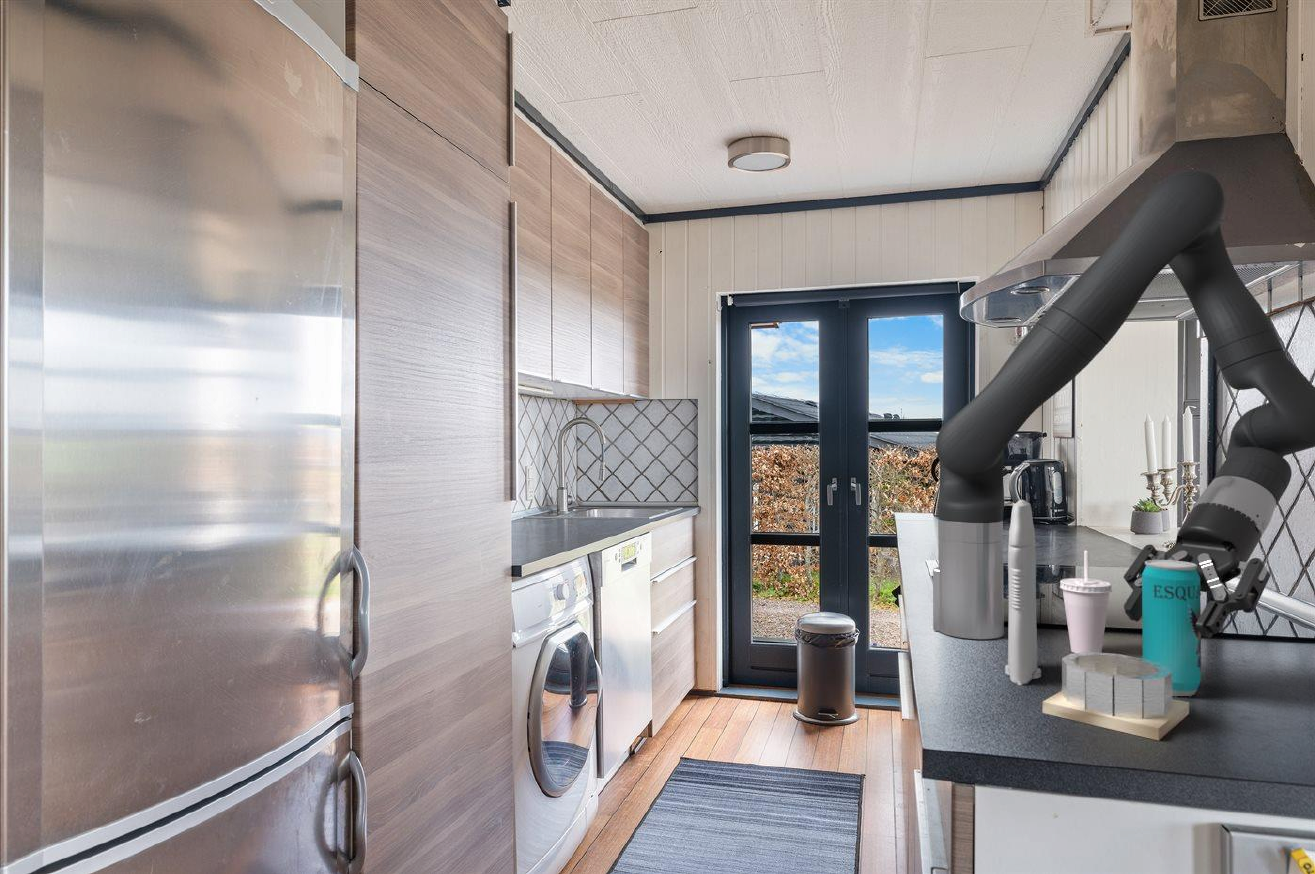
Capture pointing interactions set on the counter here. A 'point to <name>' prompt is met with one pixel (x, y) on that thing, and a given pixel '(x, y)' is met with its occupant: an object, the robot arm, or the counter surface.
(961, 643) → the counter surface
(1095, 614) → the smoothie
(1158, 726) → the base board
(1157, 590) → the beverage can
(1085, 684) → the collar
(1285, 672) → the counter surface
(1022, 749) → the counter surface
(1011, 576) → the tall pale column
